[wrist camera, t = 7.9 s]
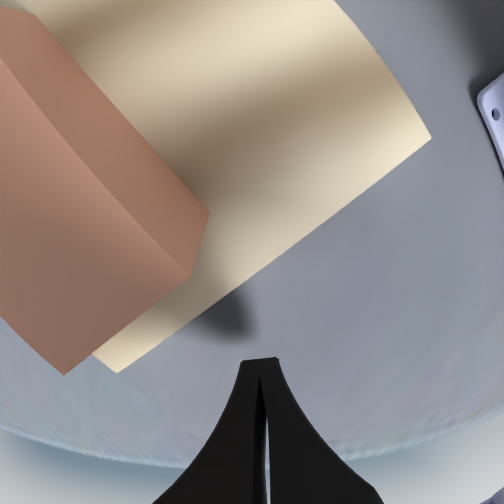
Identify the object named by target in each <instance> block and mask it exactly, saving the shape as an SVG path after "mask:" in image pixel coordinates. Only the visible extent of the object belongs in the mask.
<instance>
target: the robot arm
mask: <svg viewBox="0 0 504 504" xmlns="http://www.w3.org/2000/svg"><path fill="white" fill-rule="evenodd" d="M477 104H478V108H479V110H480V112H481V114H482V116H483V119H484V121H485V123H486V125H487V128H488V130H489V133H490V135H491V137H492V140H493V142H494V145H495V147H496V150H497V153H498V155H499V158H500V161H501V164H502V167H503V170H504V73H502V74H501V75H500V76H499V77H498V78H496V79H495V80H494V81H493V82H491V83H490V84H489V85H488V86H486V87H485V88H484V89H483V90H481V91H480V92H479V94H478V97H477ZM492 110H493V112H494V117H493V118H492ZM267 421H268V435H269V459H270V501H271V502H270V503H271V504H384V503H383V501H382V499H381V498H380V496H379V494H378V493H377V492H376V490H375V488H374V487H373V486H371V485H370V484H369V483H367V482H366V481H365V480H364V479H362V478H361V477H360V476H359V475H357V474H356V473H355V472H354V471H353V470H352V469H351V468H350V467H349V466H348V465H346V464H345V463H344V462H343V461H342V460H341V459H340V458H339V457H338V455H337V454H336V453H335V452H334V451H333V450H332V449H331V448H330V447H329V446H328V445H327V444H326V442H325V441H324V440H323V439H322V438H321V437H320V435H319V434H318V433H317V431H316V430H315V429H314V427H313V426H312V425H311V423H310V422H309V420H308V419H307V418H306V416H305V415H304V413H303V411H302V410H301V408H300V407H299V405H298V403H297V402H296V400H295V398H294V396H293V394H292V392H291V391H290V389H289V387H288V384H287V382H286V380H285V378H284V375H283V373H282V370H281V367H280V363H279V359H278V358H276V357H272V358H263V359H253V360H243V361H242V362H241V363H240V368H239V372H238V375H237V379H236V382H235V385H234V388H233V390H232V393H231V395H230V398H229V400H228V403H227V405H226V407H225V409H224V411H223V413H222V415H221V417H220V419H219V421H218V423H217V425H216V427H215V429H214V431H213V432H212V434H211V436H210V437H209V439H208V440H207V442H206V444H205V445H204V447H203V448H202V449H201V451H200V452H199V454H198V455H197V456H196V458H195V459H194V460H193V462H192V463H191V464H190V465H189V467H188V468H187V469H186V470H185V471H184V472H183V474H182V475H181V476H180V477H179V478H178V479H177V480H176V481H175V483H174V484H173V485H172V486H171V487H170V488H168V490H166V491H165V492H164V493H163V494H162V495H161V496H160V497H159V498H158V499H157V500H155V501H154V502H153V504H267V493H266V480H265V479H266V478H265V451H266V422H267ZM481 504H504V487H503V488H502V489H500V490H499V491H498V492H496V493H495V494H494V495H493V496H492V497H491V498H489V499H488V500H486V501H484V502H482V503H481Z"/></svg>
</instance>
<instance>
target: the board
mask: <svg viewBox="0 0 504 504" xmlns="http://www.w3.org/2000/svg"><path fill="white" fill-rule="evenodd" d="M0 6H3V7H7V8H11V9H15V10H18V11H22V12H25V13H29V14H32V15H35V16H36V17H37V18H38V19H39V20H40V21H41V22H42V24H43V25H44V26H45V27H46V28H47V29H48V31H49V32H50V33H51V34H52V35H53V36H54V37H55V39H56V40H57V41H58V42H59V43H60V44H61V45H62V47H63V48H64V49H65V50H66V51H67V52H68V53H69V54H70V56H71V57H72V58H73V59H74V60H75V61H76V62H77V64H78V65H79V66H80V67H81V68H82V69H83V70H84V72H85V73H86V74H87V75H88V76H89V77H90V78H91V80H92V81H93V82H94V83H95V84H96V85H97V86H98V87H99V89H100V90H101V91H102V92H103V93H104V94H105V95H106V97H107V98H108V99H109V100H110V101H111V102H112V103H113V104H114V106H115V107H116V108H117V109H118V110H119V111H120V112H121V113H122V115H123V116H124V117H125V118H126V119H127V120H128V121H129V123H130V124H131V125H132V126H133V127H134V128H135V129H136V130H137V132H138V133H139V134H140V135H141V136H142V137H143V138H144V139H145V141H146V142H147V143H148V144H149V145H150V146H151V147H152V148H153V150H154V151H155V152H156V153H157V154H158V155H159V156H160V157H161V159H162V160H163V161H164V162H165V163H166V164H167V165H168V166H169V168H170V169H171V170H172V171H173V172H174V173H175V174H176V175H177V177H178V178H179V179H180V180H181V181H182V182H183V183H184V184H185V186H186V187H187V188H188V189H189V190H190V191H191V192H192V193H193V194H194V196H195V197H196V198H197V199H198V200H199V201H200V202H201V203H202V205H203V206H204V207H205V208H206V209H207V210H208V211H209V212H210V216H209V219H208V222H207V225H206V228H205V231H204V234H203V237H202V240H201V243H200V247H199V250H198V253H197V256H196V259H195V263H194V266H193V269H192V272H191V276H190V277H189V278H188V279H187V280H185V281H184V282H183V283H182V284H180V285H179V286H178V287H176V288H175V289H174V290H172V291H171V292H170V293H169V294H167V295H166V296H165V297H163V298H162V299H161V300H159V301H158V302H157V303H156V304H154V305H153V306H152V307H150V308H149V309H148V310H147V311H145V312H144V313H143V314H141V315H140V316H139V317H138V318H136V319H135V320H134V321H132V322H131V323H130V324H129V325H127V326H126V327H125V328H123V329H122V330H121V331H120V332H118V333H117V334H116V335H115V336H113V337H112V338H111V339H109V340H108V341H107V342H106V343H104V344H103V345H102V346H101V347H99V348H98V349H97V350H95V351H94V352H93V353H92V354H93V355H94V356H95V357H96V358H98V359H99V360H100V361H101V362H103V363H104V364H105V365H107V366H108V367H109V368H110V369H112V370H113V371H114V372H116V373H118V372H120V371H121V370H123V369H124V368H126V367H127V366H128V365H130V364H131V363H133V362H134V361H135V360H137V359H138V358H140V357H141V356H142V355H144V354H145V353H147V352H148V351H150V350H151V349H152V348H154V347H155V346H157V345H158V344H159V343H161V342H162V341H164V340H165V339H166V338H168V337H169V336H170V335H172V334H173V333H175V332H176V331H177V330H179V329H180V328H182V327H183V326H184V325H186V324H187V323H188V322H190V321H191V320H193V319H194V318H195V317H197V316H198V315H200V314H201V313H202V312H204V311H205V310H206V309H208V308H209V307H211V306H212V305H213V304H215V303H216V302H217V301H219V300H220V299H221V298H223V297H224V296H226V295H227V294H228V293H230V292H231V291H232V290H234V289H235V288H236V287H238V286H239V285H240V284H242V283H243V282H245V281H246V280H247V279H249V278H250V277H251V276H253V275H254V274H255V273H257V272H258V271H259V270H261V269H262V268H263V267H265V266H266V265H267V264H269V263H270V262H271V261H273V260H274V259H276V258H277V257H278V256H280V255H281V254H282V253H284V252H285V251H286V250H288V249H289V248H290V247H292V246H293V245H294V244H296V243H297V242H298V241H299V240H301V239H302V238H303V237H305V236H306V235H307V234H309V233H310V232H311V231H313V230H314V229H315V228H317V227H318V226H319V225H321V224H322V223H323V222H325V221H326V220H327V219H329V218H330V217H331V216H332V215H334V214H335V213H336V212H338V211H339V210H340V209H342V208H343V207H344V206H346V205H347V204H348V203H349V202H351V201H352V200H353V199H355V198H356V197H357V196H359V195H360V194H361V193H362V192H364V191H365V190H366V189H368V188H369V187H370V186H371V185H373V184H374V183H375V182H377V181H378V180H379V179H380V178H382V177H383V176H384V175H386V174H387V173H388V172H389V171H391V170H392V169H393V168H395V167H396V166H397V165H398V164H400V163H401V162H402V161H403V160H405V159H406V158H407V157H409V156H410V155H411V154H412V153H414V152H415V151H416V150H417V149H419V148H420V147H421V146H423V145H424V144H425V143H426V142H428V141H429V140H430V139H431V136H430V134H429V132H428V130H427V129H426V127H425V125H424V123H423V122H422V120H421V118H420V116H419V115H418V113H417V111H416V110H415V108H414V106H413V105H412V103H411V102H410V100H409V98H408V97H407V95H406V94H405V92H404V91H403V89H402V87H401V86H400V84H399V83H398V81H397V80H396V78H395V77H394V76H393V74H392V73H391V71H390V70H389V68H388V67H387V66H386V64H385V63H384V61H383V60H382V59H381V57H380V56H379V55H378V53H377V52H376V51H375V49H374V48H373V47H372V45H371V44H370V43H369V41H368V40H367V39H366V38H365V36H364V35H363V34H362V33H361V31H360V30H359V29H358V28H357V27H356V25H355V24H354V23H353V22H352V21H351V19H350V18H349V17H348V16H347V15H346V14H345V13H344V11H343V10H342V9H341V8H340V7H339V6H338V5H337V4H336V3H335V1H334V0H0Z"/></svg>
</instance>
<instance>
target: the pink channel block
mask: <svg viewBox="0 0 504 504" xmlns="http://www.w3.org/2000/svg"><path fill="white" fill-rule="evenodd" d="M209 216H210V212H209V211H208V210H207V209H206V208H205V207H204V206H203V205H202V203H201V202H200V201H199V200H198V199H197V198H196V197H195V196H194V194H193V193H192V192H191V191H190V190H189V189H188V188H187V187H186V186H185V184H184V183H183V182H182V181H181V180H180V179H179V178H178V177H177V175H176V174H175V173H174V172H173V171H172V170H171V169H170V168H169V166H168V165H167V164H166V163H165V162H164V161H163V160H162V159H161V157H160V156H159V155H158V154H157V153H156V152H155V151H154V150H153V148H152V147H151V146H150V145H149V144H148V143H147V142H146V141H145V139H144V138H143V137H142V136H141V135H140V134H139V133H138V132H137V130H136V129H135V128H134V127H133V126H132V125H131V124H130V123H129V121H128V120H127V119H126V118H125V117H124V116H123V115H122V113H121V112H120V111H119V110H118V109H117V108H116V107H115V106H114V104H113V103H112V102H111V101H110V100H109V99H108V98H107V97H106V95H105V94H104V93H103V92H102V91H101V90H100V89H99V87H98V86H97V85H96V84H95V83H94V82H93V81H92V80H91V78H90V77H89V76H88V75H87V74H86V73H85V72H84V70H83V69H82V68H81V67H80V66H79V65H78V64H77V62H76V61H75V60H74V59H73V58H72V57H71V56H70V54H69V53H68V52H67V51H66V50H65V49H64V48H63V47H62V45H61V44H60V43H59V42H58V41H57V40H56V39H55V37H54V36H53V35H52V34H51V33H50V32H49V31H48V29H47V28H46V27H45V26H44V25H43V24H42V22H41V21H40V20H39V19H38V18H37V17H36V16H35V15H32V14H29V13H25V12H22V11H18V10H15V9H11V8H7V7H3V6H0V316H1V317H2V318H3V319H4V320H5V321H6V322H7V324H8V325H9V326H10V327H11V328H12V329H13V330H14V331H15V332H16V333H17V334H18V335H19V336H20V337H21V338H22V339H23V340H24V341H25V342H27V343H28V344H29V345H30V346H31V347H32V348H33V349H34V350H35V351H36V352H37V353H38V354H39V355H40V356H42V357H43V358H44V359H45V360H46V361H47V362H48V363H50V364H51V365H52V366H53V367H54V368H55V369H56V370H58V371H59V372H60V373H61V374H62V375H65V374H67V373H68V372H69V371H70V370H72V369H73V368H74V367H75V366H77V365H78V364H79V363H80V362H82V361H83V360H84V359H85V358H87V357H88V356H89V355H90V354H92V353H93V352H94V351H95V350H97V349H98V348H99V347H101V346H102V345H103V344H104V343H106V342H107V341H108V340H109V339H111V338H112V337H113V336H115V335H116V334H117V333H118V332H120V331H121V330H122V329H123V328H125V327H126V326H127V325H129V324H130V323H131V322H132V321H134V320H135V319H136V318H138V317H139V316H140V315H141V314H143V313H144V312H145V311H147V310H148V309H149V308H150V307H152V306H153V305H154V304H156V303H157V302H158V301H159V300H161V299H162V298H163V297H165V296H166V295H167V294H169V293H170V292H171V291H172V290H174V289H175V288H176V287H178V286H179V285H180V284H182V283H183V282H184V281H185V280H187V279H188V278H189V277H190V276H191V272H192V269H193V266H194V263H195V259H196V256H197V253H198V250H199V247H200V243H201V240H202V237H203V234H204V231H205V228H206V225H207V222H208V219H209Z"/></svg>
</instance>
